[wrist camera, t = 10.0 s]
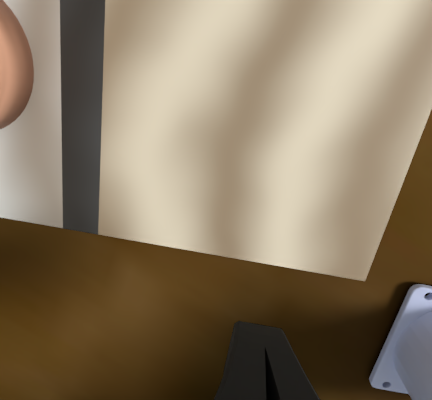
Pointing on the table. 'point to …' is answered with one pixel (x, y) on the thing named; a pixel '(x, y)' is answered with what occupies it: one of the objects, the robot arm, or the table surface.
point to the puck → (13, 67)
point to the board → (222, 124)
